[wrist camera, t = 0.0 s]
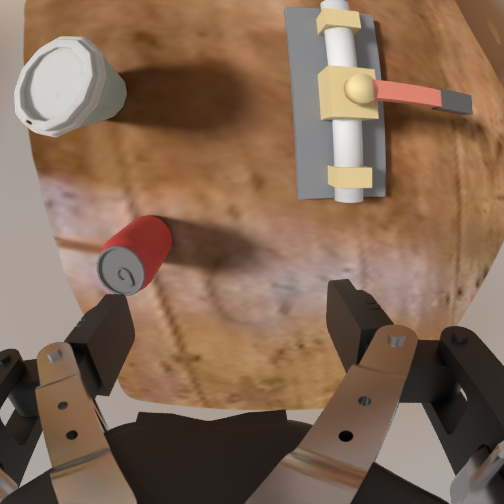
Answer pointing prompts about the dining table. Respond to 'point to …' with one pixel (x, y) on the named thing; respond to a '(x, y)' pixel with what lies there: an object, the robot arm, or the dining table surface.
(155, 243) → the beer can
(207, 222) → the dining table surface
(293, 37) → the valve board
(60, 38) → the disposable coffee cup
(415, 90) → the valve lever
